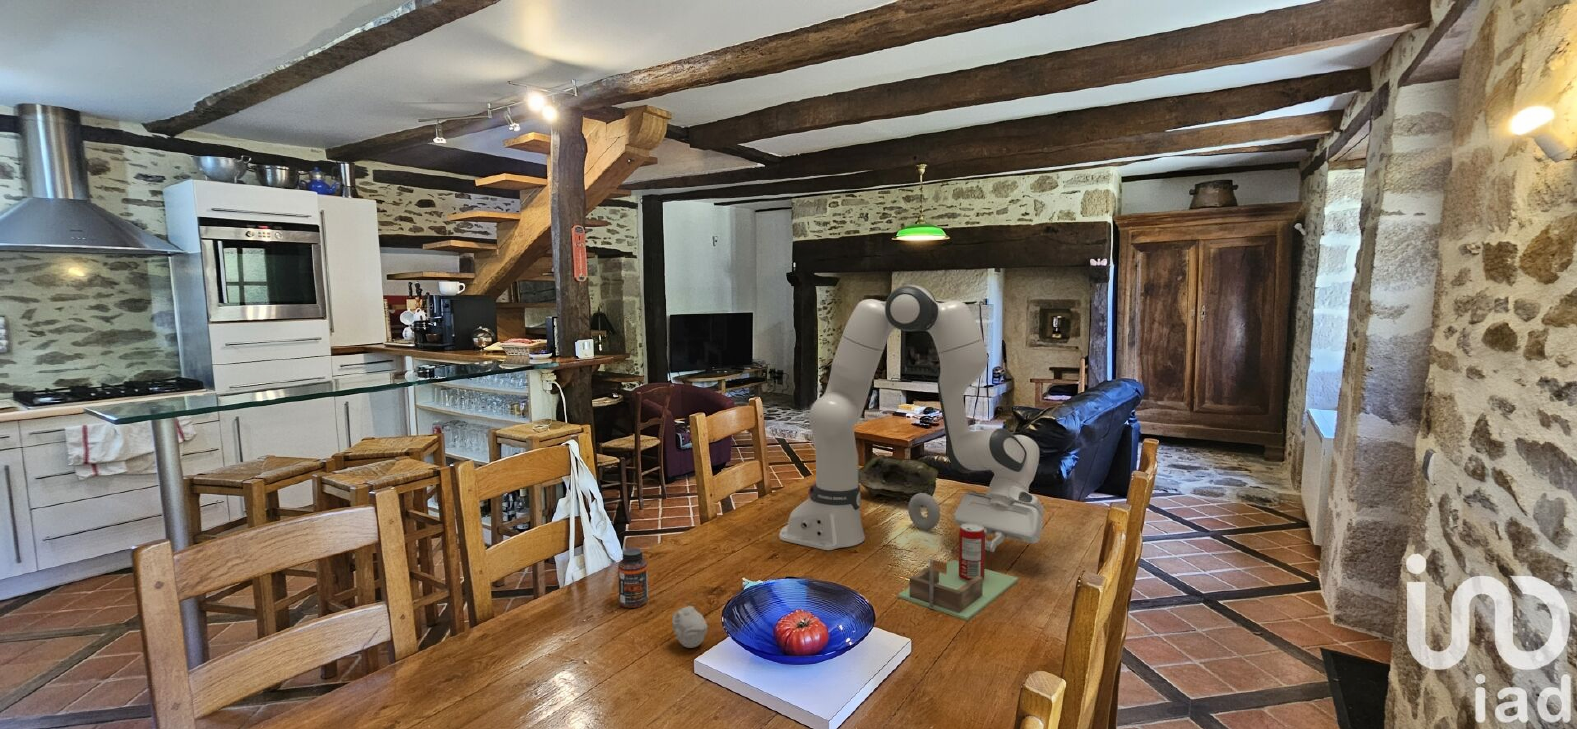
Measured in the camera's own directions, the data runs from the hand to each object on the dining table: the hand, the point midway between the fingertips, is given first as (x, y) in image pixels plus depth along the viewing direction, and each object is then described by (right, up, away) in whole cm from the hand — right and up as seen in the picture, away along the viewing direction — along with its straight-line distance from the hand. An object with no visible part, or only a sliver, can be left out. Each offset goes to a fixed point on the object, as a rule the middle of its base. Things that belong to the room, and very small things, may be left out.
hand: (986, 549), depth 155 cm
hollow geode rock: (-12, 0, +53) cm, 54 cm away
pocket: (-13, -6, -14) cm, 20 cm away
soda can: (-5, -5, -5) cm, 9 cm away
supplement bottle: (-78, -8, -13) cm, 80 cm away
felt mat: (-8, -6, -9) cm, 14 cm away
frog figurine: (-64, -10, -31) cm, 71 cm away
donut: (-9, -2, +28) cm, 29 cm away
